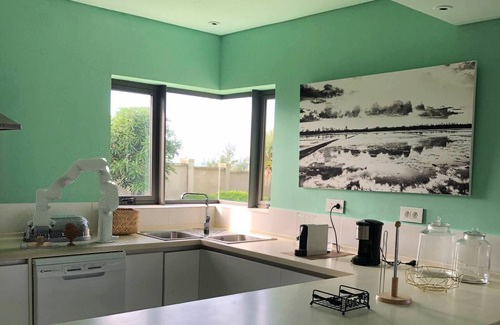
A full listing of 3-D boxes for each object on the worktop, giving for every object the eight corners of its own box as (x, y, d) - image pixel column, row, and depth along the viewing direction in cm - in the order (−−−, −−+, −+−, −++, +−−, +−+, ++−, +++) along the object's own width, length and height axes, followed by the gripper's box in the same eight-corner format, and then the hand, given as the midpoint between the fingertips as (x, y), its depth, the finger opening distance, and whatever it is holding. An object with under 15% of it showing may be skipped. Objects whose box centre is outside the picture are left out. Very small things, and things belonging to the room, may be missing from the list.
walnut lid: (51, 243, 331) (51, 235, 331) (51, 246, 318) (52, 238, 318) (28, 243, 325) (28, 235, 325) (27, 247, 312) (28, 238, 312)
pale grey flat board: (57, 243, 334) (57, 242, 334) (58, 247, 318) (58, 247, 318) (21, 244, 326) (21, 243, 326) (20, 248, 309) (20, 247, 309)
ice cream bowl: (76, 247, 324) (77, 224, 324) (59, 246, 324) (60, 223, 324) (82, 244, 334) (83, 222, 334) (65, 243, 334) (66, 221, 334)
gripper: (56, 207, 329) (55, 233, 329) (27, 207, 322) (26, 234, 322) (56, 208, 322) (55, 235, 322) (27, 209, 315) (26, 236, 315)
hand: (41, 234), depth 322 cm, fingers open, 9 cm apart
